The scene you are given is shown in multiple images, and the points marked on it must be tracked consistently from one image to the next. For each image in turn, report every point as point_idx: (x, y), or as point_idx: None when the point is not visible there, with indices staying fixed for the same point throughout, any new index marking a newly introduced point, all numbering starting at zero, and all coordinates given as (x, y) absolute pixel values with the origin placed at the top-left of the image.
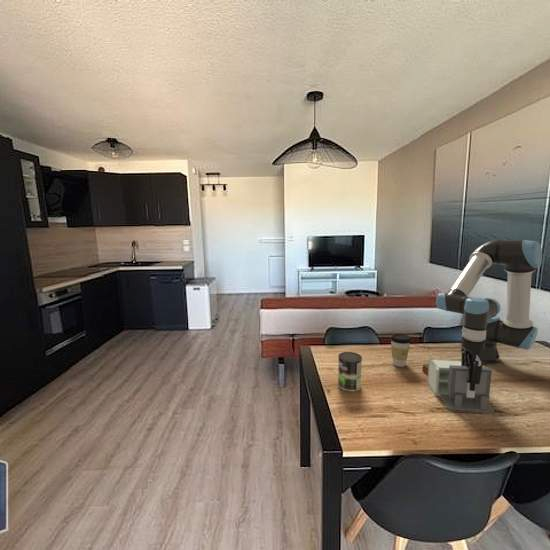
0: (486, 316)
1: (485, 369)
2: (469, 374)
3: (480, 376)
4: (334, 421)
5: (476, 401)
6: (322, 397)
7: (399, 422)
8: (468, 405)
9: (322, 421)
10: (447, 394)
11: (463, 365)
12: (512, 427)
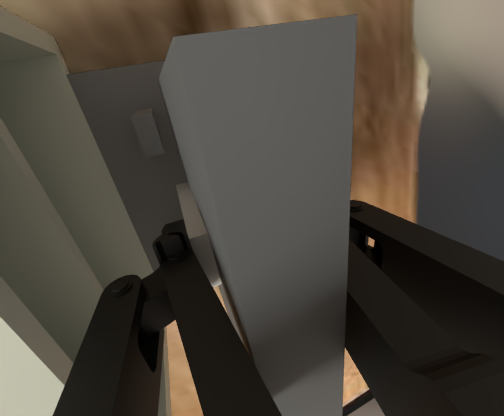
0: None
1: (334, 164)
2: None
3: (440, 236)
4: (348, 401)
5: (159, 128)
6: None
7: None
8: None
9: (350, 411)
10: (144, 254)
11: (153, 401)
12: (318, 7)
